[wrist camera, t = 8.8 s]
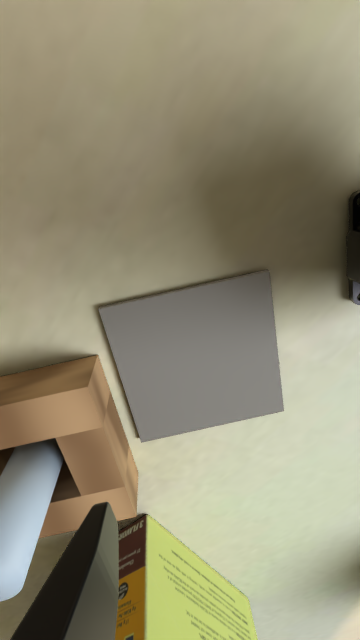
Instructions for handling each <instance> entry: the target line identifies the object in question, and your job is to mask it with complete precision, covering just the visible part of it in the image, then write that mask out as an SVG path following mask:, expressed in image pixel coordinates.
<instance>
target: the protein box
mask: <svg viewBox="0 0 360 640" xmlns="http://www.w3.org/2000/svg"><path fill="white" fill-rule="evenodd" d="M118 543H119V596H118V610H117V621H116V632H115V640H258V639H257V635H256V630H255V626H254V622H253V617H252V613H251V608H250V604H249V600H248V598H247V597H246V596H245V595H243V594H242V593H241V592H240V591H239V590H237V589H236V588H235V587H234V586H233V585H231V584H230V583H229V582H228V581H227V580H225V579H224V578H223V577H222V576H221V575H220V574H218V573H217V572H216V571H215V570H214V569H212V568H211V567H210V566H209V565H208V564H206V563H205V562H204V561H203V560H202V559H200V558H199V557H198V556H197V555H196V554H195V553H193V552H192V551H191V550H190V549H189V548H187V547H186V546H185V545H184V544H183V543H181V542H180V541H179V540H178V539H177V538H175V537H174V536H173V535H172V534H171V533H169V532H168V531H167V530H166V529H165V528H163V527H162V526H161V525H160V524H159V523H158V522H156V521H155V520H154V519H153V518H152V517H150V516H149V515H145V516H143V517H142V518H141V519H139V520H137V521H136V522H134V523H132V524H131V525H129V526H127V527H126V528H124V529H122V530H121V531H119V532H118Z"/></svg>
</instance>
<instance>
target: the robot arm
mask: <svg viewBox="0 0 360 640" xmlns="http://www.w3.org/2000/svg"><path fill="white" fill-rule="evenodd" d="M359 197H360V191H357V192H355V193H353V194H352V195H351V197H350V199H349V232H348V234H347V236H346V247H347V277H348V278H349V298H350V300H351V301H352V302H353V303H355V304H357V305H360V298H358V299H357V296H358V295H359V294H360V205H358V204H357V201H358V199H359ZM118 596H119V543H118V523H117V520H116V517H115V515H114V512H113V510H112V508H111V505H110V503H109V502H102V503H97V504H94V505H93V506H92V507H91V509H90V511H89V512H88V514H87V515H86V517H85V519H84V520H83V522H82V524H81V525H80V527H79V528H78V530H77V532H76V533H75V535H74V537H73V538H72V540H71V541H70V543H69V545H68V546H67V548H66V550H65V551H64V553H63V554H62V556H61V558H60V559H59V561H58V563H57V564H56V566H55V567H54V569H53V571H52V572H51V574H50V576H49V577H48V579H47V581H46V582H45V584H44V585H43V587H42V589H41V590H40V592H39V594H38V595H37V597H36V598H35V600H34V602H33V603H32V605H31V607H30V608H29V610H28V611H27V613H26V615H25V616H24V618H23V620H22V621H21V623H20V624H19V626H18V628H17V629H16V631H15V633H14V634H13V636H12V637H11V639H10V640H115V632H116V621H117V610H118Z"/></svg>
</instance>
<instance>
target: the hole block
mask: <svg viewBox="0 0 360 640" xmlns="http://www.w3.org/2000/svg"><path fill="white" fill-rule="evenodd" d="M52 438H56V441H57V443H58V445H59V447H60V450H61V452H62V454H63V456H64V458H65V459H64V460H63V463H62V466H61V469H60V472H59V476H58V479H57V482H56V485H55V488H54V491H53V494H52V497H51V501H50V504H49V507H48V510H47V513H46V516H45V519H44V522H43V526H42V529H41V532H40V535H39V538H42V537H47V536H51V535H56V534H60V533H65V532H70V531H74V530H78V528H79V527H80V525H81V524H82V522H83V520H84V519H85V517H86V515H87V514H88V512H89V511H90V509H91V507H92V506H93V505H94V504H97V503H102V502H109V503H110V505H111V508H112V510H113V512H114V515H115V517H116V520H117V521H120V520H124V519H129V518H133V517H136V513H137V491H138V470H137V467H136V465H135V462H134V459H133V456H132V453H131V450H130V447H129V444H128V441H127V438H126V435H125V433H124V430H123V427H122V424H121V421H120V418H119V415H118V412H117V409H116V406H115V403H114V400H113V398H112V395H111V392H110V389H109V386H108V383H107V380H106V377H105V374H104V371H103V368H102V366H101V363H100V360H99V357H98V355H96V356H91V357H87V358H82V359H78V360H73V361H69V362H64V363H60V364H55V365H51V366H46V367H42V368H37V369H33V370H28V371H24V372H19V373H15V374H10V375H6V376H1V377H0V476H1V474H2V472H3V470H4V468H5V466H6V464H7V462H8V460H9V459H10V457H11V455H12V453H13V451H14V449H15V447H16V446H20V445H25V444H29V443H34V442H38V441H43V440H47V439H52Z"/></svg>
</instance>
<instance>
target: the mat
mask: <svg viewBox="0 0 360 640" xmlns="http://www.w3.org/2000/svg"><path fill="white" fill-rule="evenodd" d="M98 310H99V313H100V316H101V319H102V322H103V325H104V328H105V331H106V334H107V338H108V341H109V344H110V347H111V350H112V353H113V356H114V359H115V362H116V365H117V368H118V372H119V375H120V378H121V381H122V384H123V387H124V390H125V393H126V396H127V399H128V403H129V406H130V409H131V412H132V415H133V418H134V421H135V424H136V427H137V430H138V433H139V437H140V440H141V443H142V442H146V441H151V440H155V439H160V438H164V437H169V436H173V435H178V434H182V433H187V432H191V431H196V430H200V429H205V428H209V427H214V426H218V425H223V424H228V423H232V422H237V421H241V420H246V419H250V418H255V417H259V416H264V415H268V414H273V413H277V412H282V411H284V407H283V398H282V388H281V378H280V369H279V359H278V349H277V340H276V330H275V320H274V311H273V301H272V291H271V282H270V272H269V271H268V270H263V271H258V272H254V273H249V274H245V275H241V276H236V277H232V278H227V279H223V280H218V281H214V282H209V283H205V284H200V285H196V286H191V287H187V288H182V289H178V290H173V291H169V292H164V293H160V294H155V295H151V296H146V297H142V298H137V299H133V300H128V301H124V302H119V303H115V304H110V305H106V306H101V307H99V309H98Z"/></svg>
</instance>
